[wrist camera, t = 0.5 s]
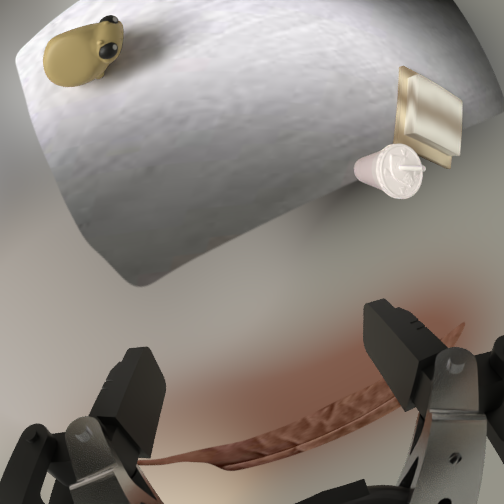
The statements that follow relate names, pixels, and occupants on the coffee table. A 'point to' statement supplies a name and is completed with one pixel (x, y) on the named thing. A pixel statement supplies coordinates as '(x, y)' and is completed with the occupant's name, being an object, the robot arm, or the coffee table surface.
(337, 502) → the robot arm
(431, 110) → the base
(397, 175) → the smoothie
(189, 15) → the coffee table surface
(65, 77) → the yellow toy creature
